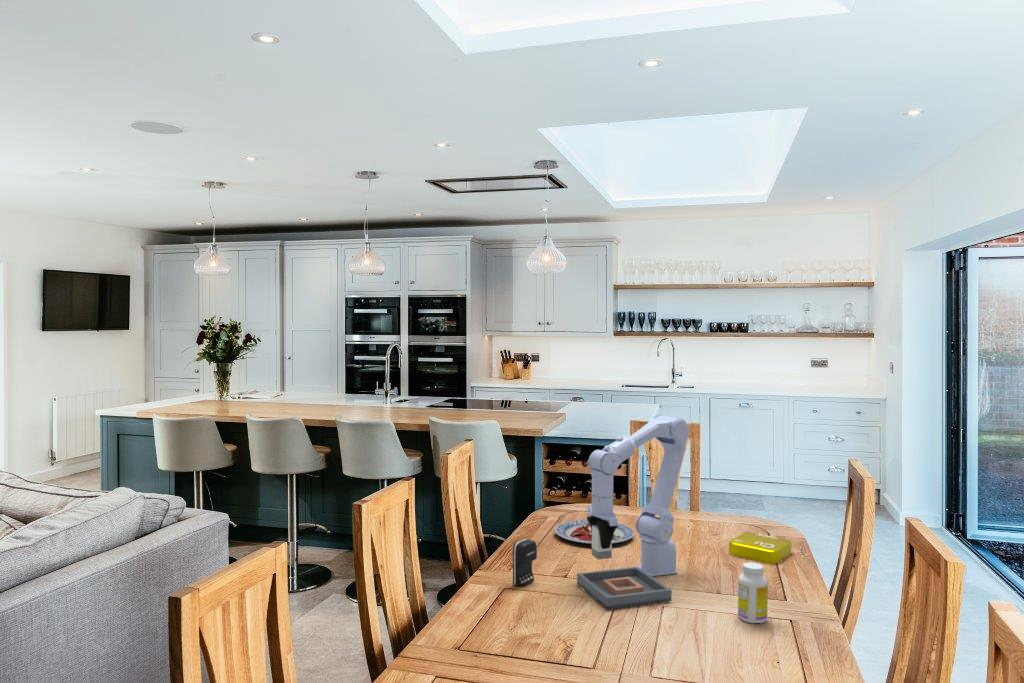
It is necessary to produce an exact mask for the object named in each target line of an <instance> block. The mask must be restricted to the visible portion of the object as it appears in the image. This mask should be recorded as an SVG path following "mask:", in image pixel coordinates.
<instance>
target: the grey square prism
mask: <svg viewBox="0 0 1024 683" xmlns="http://www.w3.org/2000/svg"><path fill="white" fill-rule="evenodd" d="M612 547H613V543H612V541H611V544H610V548H606V549H602V547H601V542H600V534H599V530H598V527H597V525H592V544H591V556H593V557H594V558H595V559H597V560H605V559H606V560H607V559H612V556H613V553H612V549H613V548H612Z"/></svg>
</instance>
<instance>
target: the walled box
mask: <svg viewBox="0 0 1024 683" xmlns="http://www.w3.org/2000/svg"><path fill="white" fill-rule="evenodd" d="M576 575H577V576H576V585H577V584H578V585H579V586H580V587H582V588H583V589H584V590H585V591H586V592H587V593H588V594H587V593H586V592H585V591H584V590H583V589H582V588H581V589H582V590H583V591H584V592H585V593H586V594H587V595H589V596H590V598H592V597H593V598H594V599H595V601H596V602H597V603H598V604H599V605H600V604H601V605H602V606H601V605H600V606H601V607H602V608H604V609H605V608H606V609H607V610H606V609H605V610H606V611H612V610H611V609H613V610H618V609H619V610H620V609H625V608H626V609H627V607H628V608H634V607H633V606H635V607H641V605H643V606H649V605H648V604H650V605H655V604H654V603H658V604H662V603H661V602H665V603H670V602H669V601H671V602H672V589H671V588H670V587H668V586H667V585H665V584H663V583H662V582H661V581H659V580H657V579H656V578H654V576H650V575H649V574H647V573H646V572H644V571H643V570H641V569H640V568H638V567H635V566H631V567H625V568H623V567H621V568H614V569H613V568H612V569H606V570H596V571H588V572H578V573H576ZM578 585H577V586H578ZM579 586H578V587H579ZM580 587H579V588H580ZM593 598H592V599H593ZM594 599H593V600H594Z"/></svg>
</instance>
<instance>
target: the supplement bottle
mask: <svg viewBox="0 0 1024 683" xmlns="http://www.w3.org/2000/svg"><path fill="white" fill-rule="evenodd" d="M742 571H743V573H741V574H740V575H739V576H738V580H737V584H738V585H737V586H738V587H737V588H738V591H737V615H738V617H739V619H740V620H741V621H743V622H745V623H748V622H749V624H755V623H760V624H763V623H765V622H767V620H768V594H769V593H768V589H769V588H768V586H769V585H768V584H769V583H768V579H767V578H766V576H764V574H763V573H764V565H763V564H760V563H757V562H745V563H743V564H742Z"/></svg>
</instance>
